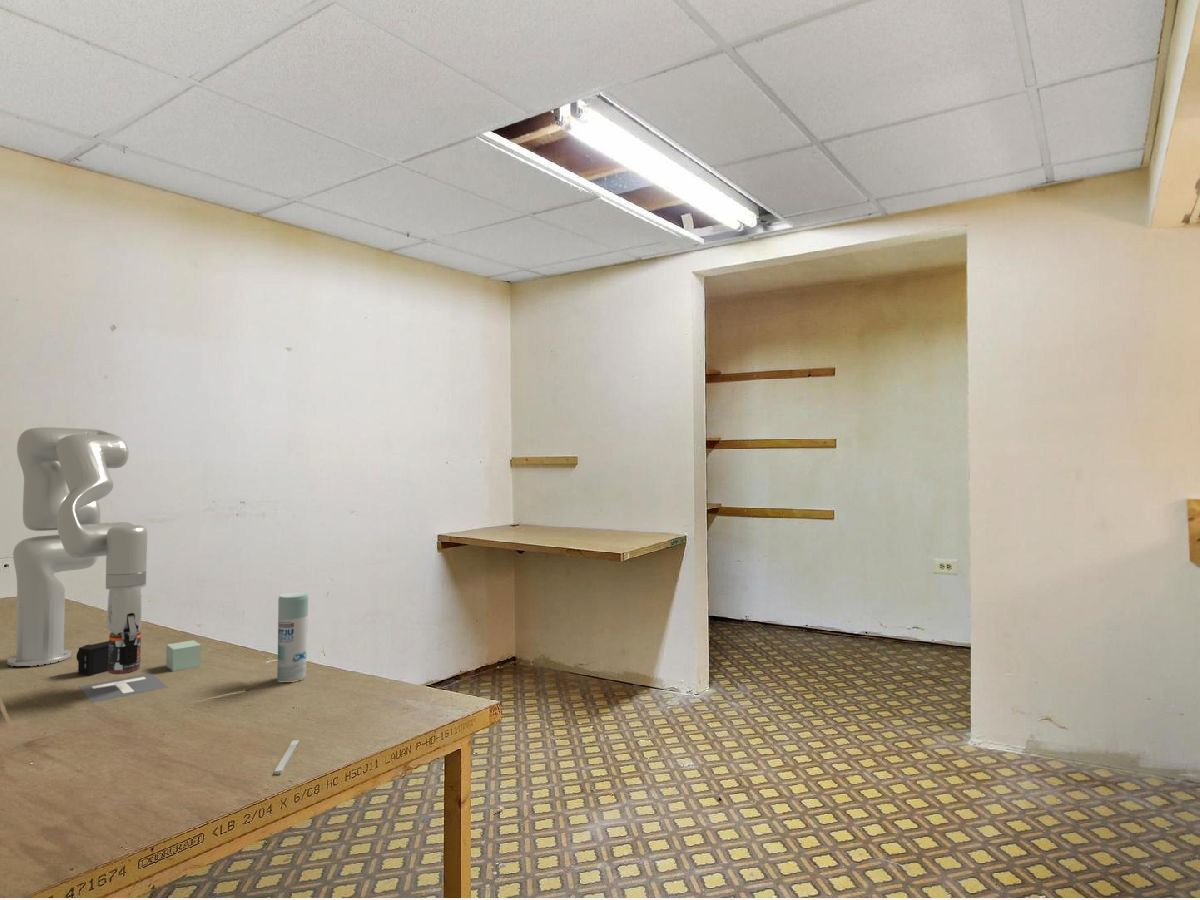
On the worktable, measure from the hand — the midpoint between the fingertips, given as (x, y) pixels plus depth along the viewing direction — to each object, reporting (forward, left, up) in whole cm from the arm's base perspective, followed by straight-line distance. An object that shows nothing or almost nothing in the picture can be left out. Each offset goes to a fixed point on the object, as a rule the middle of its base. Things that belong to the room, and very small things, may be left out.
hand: (124, 659), depth 153 cm
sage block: (-8, +14, -7) cm, 18 cm away
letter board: (0, 0, -7) cm, 7 cm away
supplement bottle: (0, 0, -3) cm, 3 cm away
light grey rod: (+61, +12, -7) cm, 62 cm away
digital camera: (-19, 0, -7) cm, 20 cm away
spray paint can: (+18, +30, -7) cm, 36 cm away
